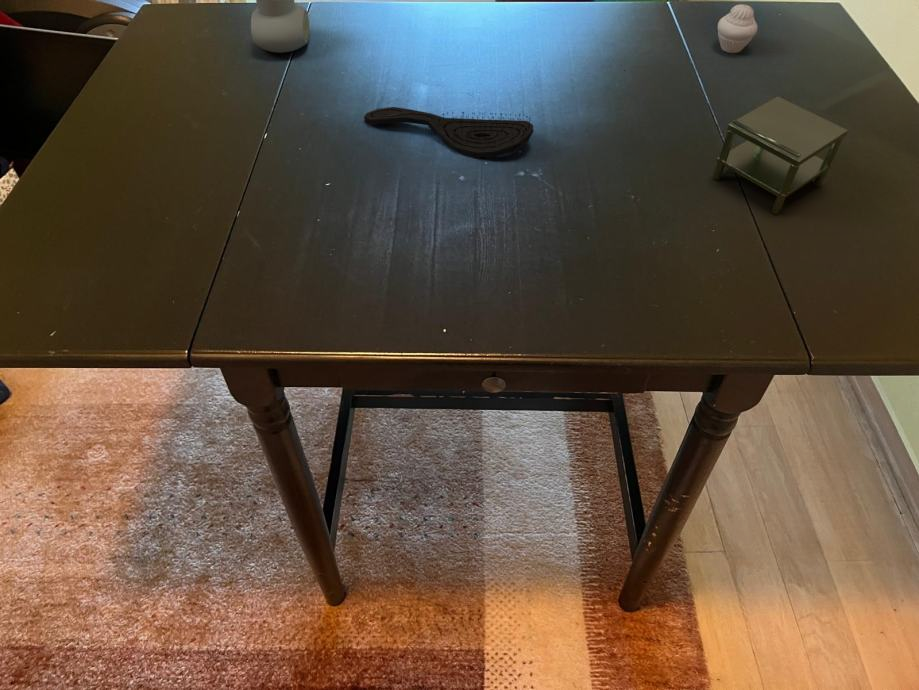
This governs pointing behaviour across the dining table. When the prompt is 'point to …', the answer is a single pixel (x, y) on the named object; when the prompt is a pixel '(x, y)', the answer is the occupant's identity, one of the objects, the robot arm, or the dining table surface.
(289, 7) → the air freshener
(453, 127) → the hairbrush
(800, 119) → the side table
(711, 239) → the dining table surface
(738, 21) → the muffin
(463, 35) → the dining table surface
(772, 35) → the dining table surface
